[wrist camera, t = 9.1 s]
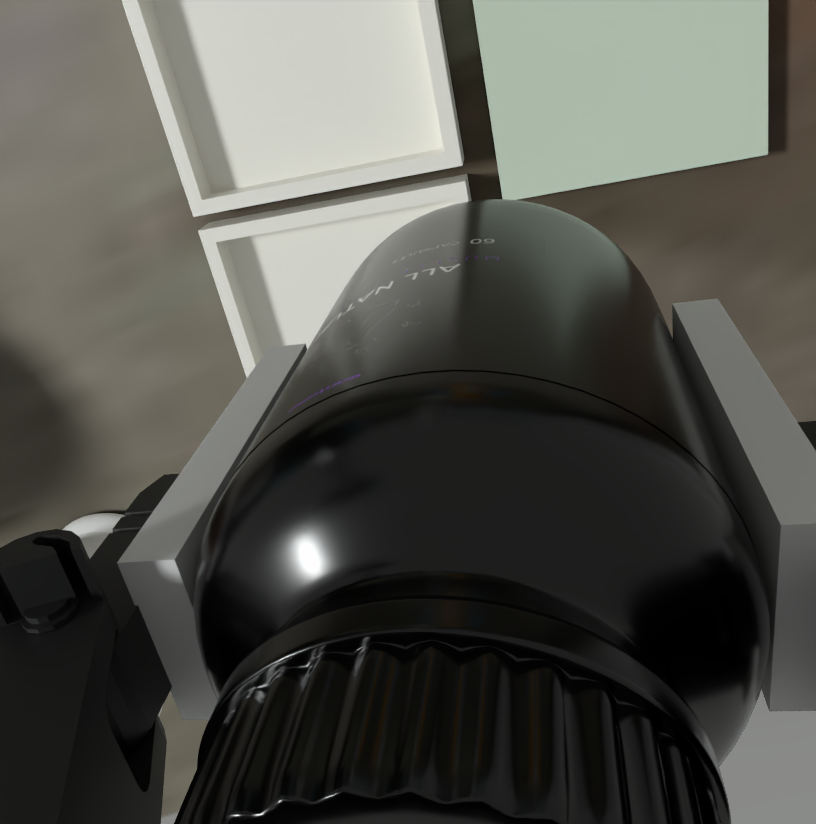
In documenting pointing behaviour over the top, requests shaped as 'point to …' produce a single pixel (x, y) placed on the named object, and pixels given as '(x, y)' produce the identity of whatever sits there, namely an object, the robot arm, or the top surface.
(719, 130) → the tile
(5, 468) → the top surface
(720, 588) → the supplement bottle
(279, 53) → the tray
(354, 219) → the tray middle
